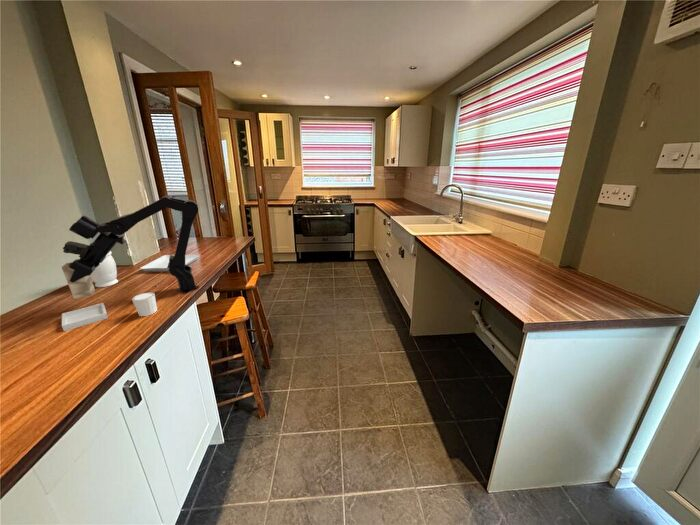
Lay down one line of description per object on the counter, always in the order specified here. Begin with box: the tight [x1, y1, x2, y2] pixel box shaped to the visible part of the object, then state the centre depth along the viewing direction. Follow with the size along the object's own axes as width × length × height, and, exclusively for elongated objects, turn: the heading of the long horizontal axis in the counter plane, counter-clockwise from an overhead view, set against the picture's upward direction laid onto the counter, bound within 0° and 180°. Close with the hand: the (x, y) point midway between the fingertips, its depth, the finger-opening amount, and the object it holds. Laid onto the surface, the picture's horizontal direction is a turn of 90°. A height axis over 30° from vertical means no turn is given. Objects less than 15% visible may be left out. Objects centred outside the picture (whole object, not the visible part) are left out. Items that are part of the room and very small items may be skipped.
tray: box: [61, 302, 109, 332], centre depth 101 cm, size 12×12×2 cm
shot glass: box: [131, 292, 158, 318], centre depth 103 cm, size 7×7×7 cm
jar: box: [90, 250, 119, 288], centre depth 128 cm, size 11×10×15 cm
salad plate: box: [139, 254, 201, 273], centre depth 151 cm, size 21×21×3 cm
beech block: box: [61, 261, 96, 299], centre depth 105 cm, size 5×5×13 cm
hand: (74, 279), depth 104 cm, fingers closed on beech block, 5 cm apart
